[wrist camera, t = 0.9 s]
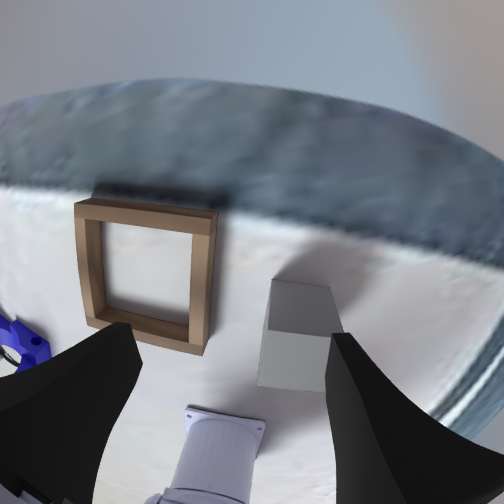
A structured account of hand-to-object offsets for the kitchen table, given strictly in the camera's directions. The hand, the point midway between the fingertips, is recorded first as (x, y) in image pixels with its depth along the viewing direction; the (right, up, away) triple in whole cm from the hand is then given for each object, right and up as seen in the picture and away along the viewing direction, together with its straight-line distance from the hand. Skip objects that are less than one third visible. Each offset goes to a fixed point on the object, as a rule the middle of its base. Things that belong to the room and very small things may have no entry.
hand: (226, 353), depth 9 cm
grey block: (+4, 0, +10) cm, 11 cm away
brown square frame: (-7, +2, +10) cm, 13 cm away
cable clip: (-28, -6, +16) cm, 33 cm away
